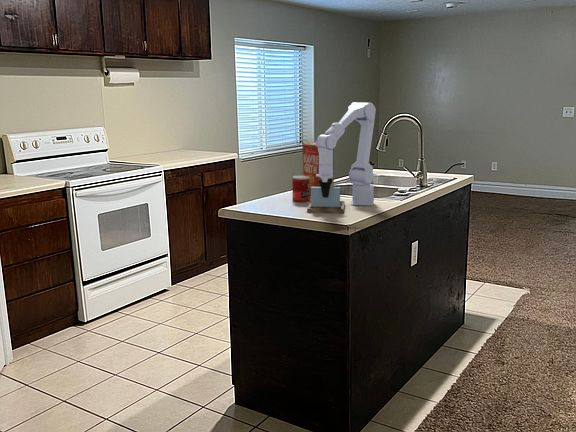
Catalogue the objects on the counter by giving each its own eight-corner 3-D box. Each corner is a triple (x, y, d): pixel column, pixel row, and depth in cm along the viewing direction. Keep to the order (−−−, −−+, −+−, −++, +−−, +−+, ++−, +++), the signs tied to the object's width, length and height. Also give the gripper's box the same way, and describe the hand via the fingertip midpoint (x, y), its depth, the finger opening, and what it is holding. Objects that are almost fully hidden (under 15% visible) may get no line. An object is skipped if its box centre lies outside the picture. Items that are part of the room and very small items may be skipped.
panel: (339, 206, 238) (340, 187, 236) (339, 207, 236) (340, 187, 235) (311, 205, 240) (311, 186, 238) (310, 206, 238) (310, 187, 236)
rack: (344, 204, 252) (344, 201, 251) (343, 213, 234) (343, 209, 234) (310, 204, 253) (310, 200, 253) (307, 212, 236) (307, 208, 236)
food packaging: (301, 195, 275) (301, 143, 270) (316, 193, 281) (317, 142, 275) (319, 199, 265) (319, 145, 259) (334, 196, 270) (335, 143, 265)
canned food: (304, 202, 257) (304, 178, 254) (289, 200, 261) (289, 177, 258) (312, 200, 263) (312, 176, 261) (297, 198, 267) (298, 174, 265)
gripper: (317, 161, 242) (317, 193, 245) (314, 166, 228) (314, 199, 230) (334, 162, 241) (333, 193, 244) (332, 166, 227) (332, 200, 230)
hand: (325, 196), depth 237 cm, fingers closed on panel, 2 cm apart
